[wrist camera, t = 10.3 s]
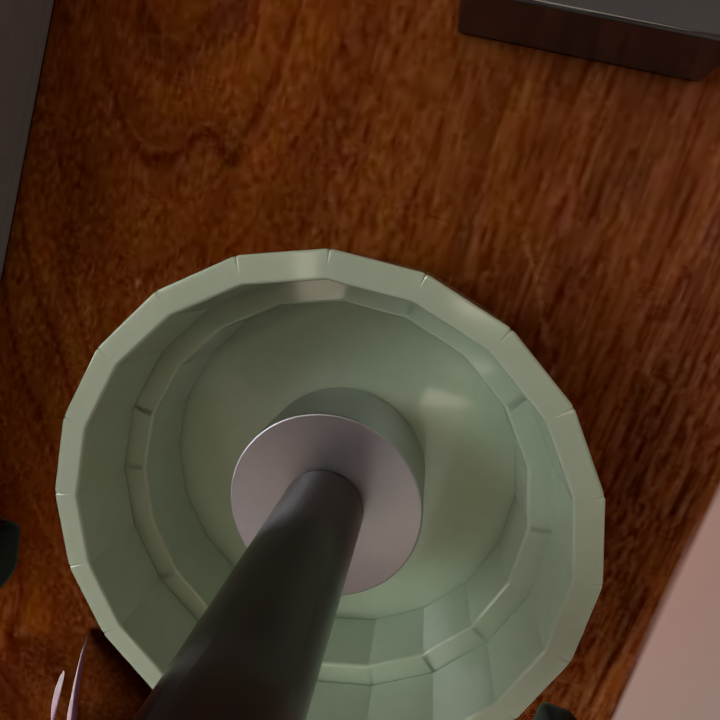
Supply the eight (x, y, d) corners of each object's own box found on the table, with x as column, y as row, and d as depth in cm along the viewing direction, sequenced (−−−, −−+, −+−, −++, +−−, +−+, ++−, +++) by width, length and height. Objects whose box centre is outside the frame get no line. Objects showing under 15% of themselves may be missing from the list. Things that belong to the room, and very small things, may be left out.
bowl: (614, 318, 13) (705, 344, 9) (479, 679, 16) (496, 839, 11) (195, 210, 14) (88, 185, 10) (137, 563, 17) (33, 667, 12)
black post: (445, 414, 13) (474, 811, 4) (400, 561, 14) (327, 1172, 5) (282, 367, 14) (-80, 606, 4) (250, 513, 15) (-99, 978, 5)
